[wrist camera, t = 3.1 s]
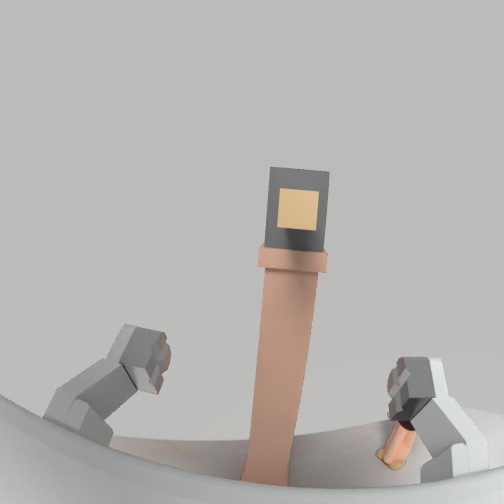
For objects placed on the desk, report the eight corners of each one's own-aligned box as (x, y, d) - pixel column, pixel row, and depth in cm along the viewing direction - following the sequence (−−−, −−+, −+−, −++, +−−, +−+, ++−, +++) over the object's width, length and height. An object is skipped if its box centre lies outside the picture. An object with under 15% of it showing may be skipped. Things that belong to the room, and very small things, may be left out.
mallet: (246, 269, 15) (255, 142, 15) (268, 241, 29) (274, 173, 28) (338, 277, 15) (348, 150, 14) (318, 245, 28) (324, 177, 27)
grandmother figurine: (362, 453, 33) (388, 371, 32) (380, 441, 35) (406, 362, 34) (406, 482, 27) (444, 397, 25) (423, 467, 29) (458, 385, 27)
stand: (239, 489, 27) (259, 247, 24) (246, 461, 32) (265, 241, 29) (285, 495, 27) (327, 253, 23) (288, 465, 32) (322, 246, 28)
